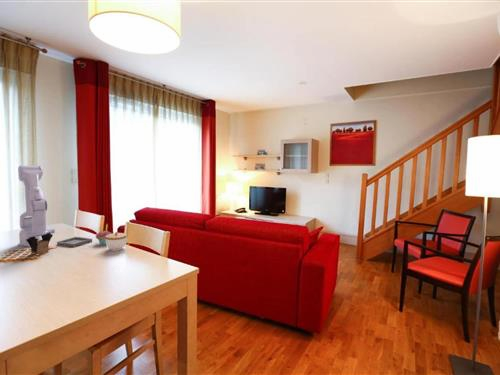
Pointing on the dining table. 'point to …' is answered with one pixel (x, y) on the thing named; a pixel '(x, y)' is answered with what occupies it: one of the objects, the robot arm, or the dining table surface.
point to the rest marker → (52, 247)
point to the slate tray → (74, 241)
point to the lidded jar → (116, 241)
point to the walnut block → (41, 247)
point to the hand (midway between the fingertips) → (39, 249)
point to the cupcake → (102, 236)
